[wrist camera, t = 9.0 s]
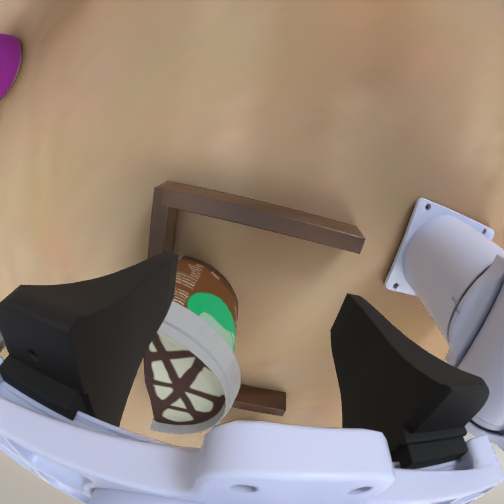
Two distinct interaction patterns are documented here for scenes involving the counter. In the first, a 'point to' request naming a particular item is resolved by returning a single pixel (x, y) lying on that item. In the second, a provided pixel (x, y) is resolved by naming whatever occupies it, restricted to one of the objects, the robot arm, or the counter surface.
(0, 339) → the beverage cup
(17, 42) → the beverage can
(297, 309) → the counter surface
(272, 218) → the brown frame
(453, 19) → the counter surface
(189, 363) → the food container
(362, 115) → the counter surface
